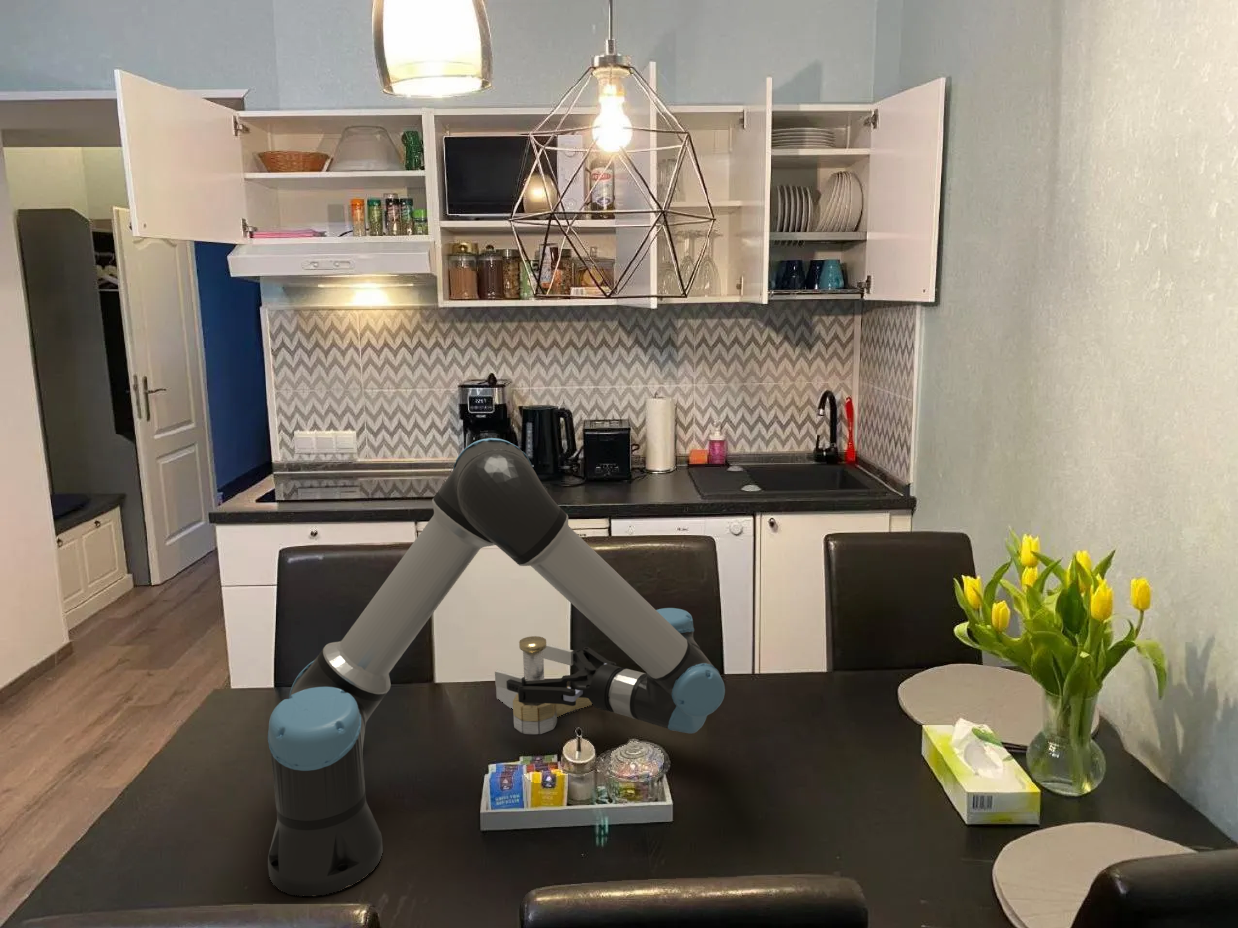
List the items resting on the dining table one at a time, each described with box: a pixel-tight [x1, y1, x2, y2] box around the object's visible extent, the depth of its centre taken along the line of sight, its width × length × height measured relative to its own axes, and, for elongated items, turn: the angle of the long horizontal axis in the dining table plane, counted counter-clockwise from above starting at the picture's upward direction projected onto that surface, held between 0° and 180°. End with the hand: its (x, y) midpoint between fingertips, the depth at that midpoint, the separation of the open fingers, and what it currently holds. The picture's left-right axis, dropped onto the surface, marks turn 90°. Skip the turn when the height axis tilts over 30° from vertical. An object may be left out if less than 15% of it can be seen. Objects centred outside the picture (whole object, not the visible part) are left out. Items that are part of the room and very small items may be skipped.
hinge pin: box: [518, 635, 547, 706], centre depth 161 cm, size 5×5×16 cm
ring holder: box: [495, 685, 593, 735], centre depth 165 cm, size 14×20×5 cm
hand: (520, 663), depth 162 cm, fingers open, 13 cm apart
